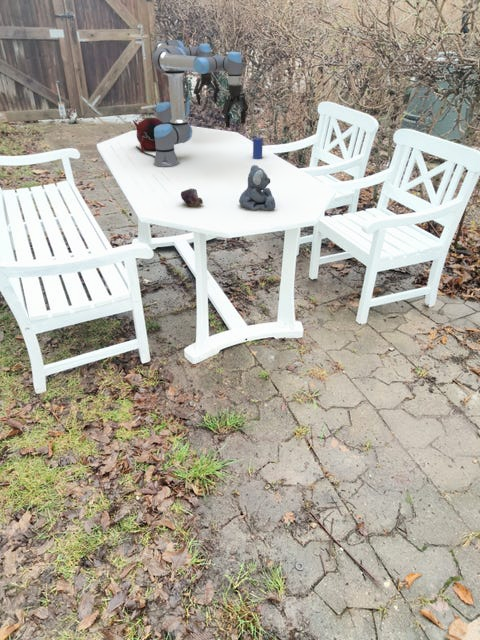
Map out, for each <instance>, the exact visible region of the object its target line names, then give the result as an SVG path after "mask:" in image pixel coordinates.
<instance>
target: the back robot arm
mask: <svg viewBox="0 0 480 640" xmlns="http://www.w3.org/2000/svg"><path fill="white" fill-rule="evenodd" d="M171 47H178V48H181V49H183V51H184V52H185V53H186V56H197V57H212V53H211V52H212V49H211V44H210V43H199V46H198V45H193V46H185V44H184V43H183V42H182V40H179V39H173V40H160V41H158V42H156V43H155V45H154V47H153V53H154V52H155V51H156V50H158V49H160V48H171ZM182 81H183V79H182ZM183 82H184V81H183ZM205 86H209V87H210V88H211V89H212V91H213V103H214V104H217V103H218V102H217V101H218V100H217V99H218V93H219V92H220V91H221V89H220V88H219V85H218V83H217V80H216V77H214V76H212V72H211V73H205V74H200V78H196V83H195V85H194V89H193V94H194V95H195V99H196V101H197V102H196V103H197V105H198V106H201V95H200V93H201V91H202V90H203V88H204V87H205ZM183 95H184V92H183ZM184 96H185V95H184ZM190 108H191V107H190V104H189V103H188V102H187V99H186V98H184V109H185V118H186V119H187V118H188V117H189V115H190V111H191V110H190ZM155 112H156V119H159V120H160V121H161V122H163V123H164V124H170V120H171V119H172V114H171V103H170V101H163V102H159V103H157V104H156V105H155Z"/></svg>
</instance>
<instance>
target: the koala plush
mask: <svg viewBox="0 0 480 640" xmlns="http://www.w3.org/2000/svg"><path fill="white" fill-rule="evenodd" d="M270 183H271V178H269V176H268V175H267V173H266V172H265V170H264V169H263V168H261V167H259V165H257V164H253V165H250V170H249V173H248V176H247V188H246V189H245V190H244V191H243V192H242V193H241V194H240V197H239V199H238V203H239V204H240V206H241V207H242V208H246V209H247V210H252V211H255V210H261V211H272V210H274V209H275V208H276V200H275V198H274V196H273V194H272V191H271V188H270V187H268V186H269V185H270Z"/></svg>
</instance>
